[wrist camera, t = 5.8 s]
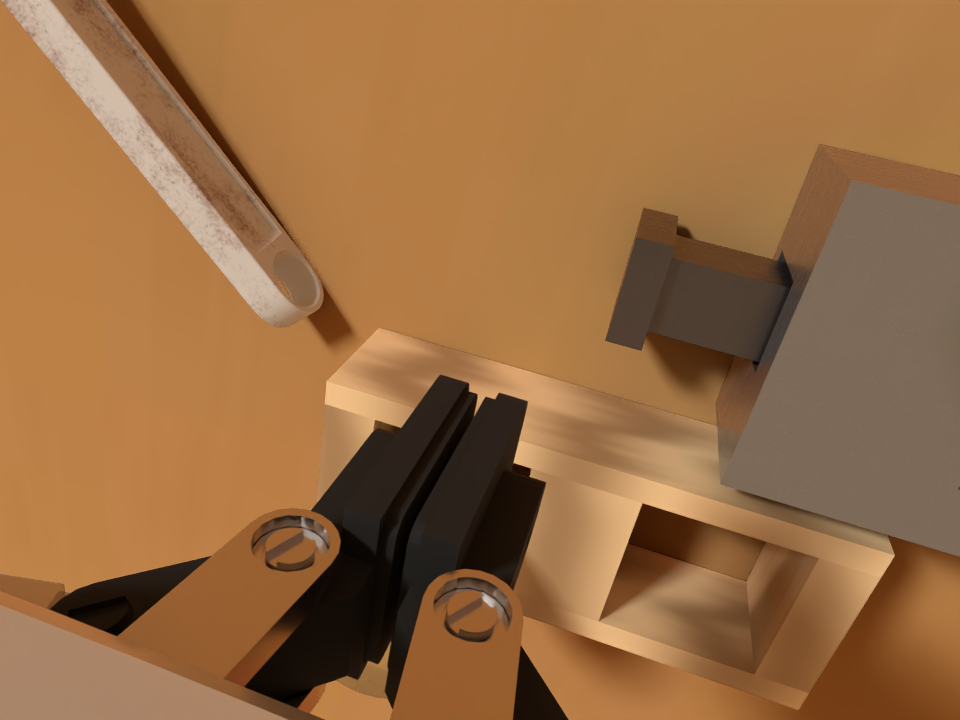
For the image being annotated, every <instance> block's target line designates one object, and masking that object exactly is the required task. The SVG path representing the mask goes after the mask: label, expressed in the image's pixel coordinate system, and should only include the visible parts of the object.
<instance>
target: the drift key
mask: <svg viewBox="0 0 960 720" xmlns="http://www.w3.org/2000/svg"><path fill="white" fill-rule="evenodd" d="M677 222H678V216H674V215H670V214H666V213H662V212H658V211H654V210H650V209H646V208H643V212H642V215H641V218H640V222H639V225H638V229H637V232H636V235H635V239H634V242H633V245H632V249H631V252H630V255H629V259H628V262H627V266H626V269H625V272H624V276H623V279H622V282H621V286H620V289H619V293H618V296H617V299H616V303H615V307H614V310H613V314H612V318H611V321H610V325H609V329H608V332H607V336H606V340H605V341H608V342H612V343H615V344H619V345H622V346H626V347H629V348H633V349H637V350H640V351H641V350H642V347H643V344H644V341H645V338H646V335H647V332H651V333H655V334H659V335H662V336H666V337H670V338H673V339H677V340H680V341H684V342H688V343H691V344H695V345H699V346H702V347H706V348H709V349H713V350H717V351H720V352H724V353H728V354H731V355H735V356H739V357H742V358H746V359H749V360H753V361H757V362H760V360H761V358H762V355H763V353H764V351H765V348H766V346H767V344H768V341H769V339H770V336H771V334H772V332H773V329H774V327H775V325H776V322H777V320H778V318H779V315H780V313H781V310H782V308H783V306H784V303H785V301H786V299H787V296H788V294H789V292H790V289H791V287H792V284H793V279H792V276H791V274H790V271H789V268H788V265H787V263H785V262H781V261H777V260H773V259H769V258H765V257H761V256H757V255H753V254H749V253H746V252H742V251H738V250H734V249H730V248H726V247H722V246H718V245H714V244H710V243H706V242H702V241H698V240H694V239H690V238H686V237H682V236H678V235H676V234H677Z"/></svg>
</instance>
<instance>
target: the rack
mask: <svg viewBox="0 0 960 720" xmlns="http://www.w3.org/2000/svg"><path fill="white" fill-rule="evenodd" d="M439 375H445V376H448V377H451V378H454V379H458V380H461V381H464V382H467V383H469V391H470V392H473V393H476V394H478V399H477V404H476V409H475V414H476V412H477V410H478V409H479V407H480V405H481V403H482V402H483V400H484V398H485V397H489V398H493V399H495V398H496V397H497V395H498V393H503V394H506V395H510V396H513V397H516V398H519V399H523V400H526V401H528V405H527V410H526V414H525V418H524V422H523V426H522V430H521V434H520V438H519V443H518V447H517V451H516V455H515V459H514V463H515V464H519V465H522V466H525V467H528V468H531V473H530V476H529V477H532V478H535V479H538V480H541V481H544V482H546V486H545V490H544V494H543V497H542V501H541V504H540V508H539V512H538V515H537V519H536V522H535V525H534V529H533V532H532V535H531V539H530V542H529V545H528V548H527V551H526V554H525V557H524V560H523V563H522V566H521V569H520V572H519V575H518V578H517V581H516V584H515V587H514V590H513V591H514V592H515V594H516V595H517V597H518V599H519V601H520V603H521V605H522V611H523V615H524V616H526V617H529V618H532V619H535V620H538V621H541V622H544V623H547V624H550V625H553V626H555V627H558V628H561V629H564V630H567V631H570V632H573V633H576V634H579V635H582V636H584V637H587V638H590V639H593V640H596V641H599V642H602V643H605V644H608V645H611V646H613V647H616V648H619V649H622V650H625V651H628V652H631V653H634V654H637V655H640V656H642V657H645V658H648V659H651V660H654V661H657V662H660V663H663V664H666V665H669V666H671V667H674V668H677V669H680V670H683V671H686V672H689V673H692V674H695V675H698V676H700V677H703V678H706V679H709V680H712V681H715V682H718V683H721V684H724V685H727V686H729V687H732V688H735V689H738V690H741V691H744V692H747V693H750V694H753V695H756V696H758V697H761V698H764V699H767V700H770V701H773V702H776V703H779V704H782V705H785V706H787V707H790V708H793V709H796V710H799V709H800V707H801V705H802V704H803V702H804V701H805V699H806V697H807V696H808V694H809V693H810V691H811V689H812V688H813V686H814V685H815V683H816V681H817V680H818V678H819V676H820V675H821V673H822V672H823V670H824V668H825V667H826V665H827V664H828V662H829V660H830V659H831V657H832V656H833V654H834V652H835V651H836V649H837V648H838V646H839V644H840V643H841V641H842V640H843V638H844V636H845V635H846V633H847V632H848V630H849V628H850V627H851V625H852V624H853V622H854V620H855V619H856V617H857V616H858V614H859V612H860V611H861V609H862V608H863V606H864V604H865V603H866V601H867V600H868V598H869V596H870V595H871V593H872V592H873V590H874V588H875V587H876V585H877V583H878V582H879V580H880V579H881V577H882V575H883V574H884V572H885V571H886V569H887V567H888V566H889V564H890V563H891V561H892V559H893V558H894V556H895V554H894V552H893V549H892V546H891V543H890V541H889V538H888V535H886V534H883V533H879V532H876V531H873V530H869V529H866V528H863V527H860V526H856V525H853V524H850V523H846V522H843V521H840V520H836V519H833V518H830V517H827V516H823V515H820V514H817V513H813V512H810V511H807V510H804V509H800V508H797V507H794V506H790V505H787V504H784V503H780V502H777V501H774V500H771V499H767V498H764V497H761V496H757V495H754V494H751V493H747V492H744V491H741V490H738V489H734V488H731V487H728V486H724V485H721V484H720V473H719V454H718V434H717V426H715V425H712V424H708V423H705V422H701V421H698V420H694V419H691V418H687V417H684V416H681V415H677V414H674V413H670V412H667V411H663V410H660V409H657V408H653V407H650V406H646V405H643V404H639V403H636V402H633V401H629V400H626V399H622V398H619V397H615V396H612V395H608V394H605V393H602V392H598V391H595V390H591V389H588V388H584V387H581V386H578V385H574V384H571V383H567V382H564V381H560V380H557V379H554V378H550V377H547V376H543V375H540V374H536V373H533V372H529V371H526V370H523V369H519V368H516V367H512V366H509V365H505V364H502V363H499V362H495V361H492V360H488V359H485V358H481V357H478V356H475V355H471V354H468V353H464V352H461V351H457V350H454V349H450V348H447V347H444V346H440V345H437V344H433V343H430V342H426V341H423V340H420V339H416V338H413V337H409V336H406V335H402V334H399V333H396V332H392V331H389V330H385V329H382V328H379V329H378V330H377V331H376V332H375V333H374V334H373V335H372V336H371V337H370V338H369V339H368V340H367V341H366V342H365V343H364V344H363V345H362V346H361V347H360V348H359V349H358V350H357V351H356V352H355V353H354V354H353V355H352V356H351V357H350V358H349V359H348V360H347V361H346V362H345V363H344V364H343V365H342V366H341V367H340V368H339V369H338V370H337V371H336V372H335V373H334V374H333V375H332V376H331V377H330V378H329V379H328V381H327V384H326V396H325V408H324V419H323V431H322V443H321V454H320V466H319V478H318V489H317V501H316V504H317V502H318V501H319V500H320V499H321V497H322V496H323V495H324V493H325V492H326V491H327V490H328V488H329V487H330V486H331V484H332V483H333V482H334V481H335V479H336V478H337V477H338V475H339V474H340V473H341V472H342V470H343V469H344V468H345V467H346V465H347V464H348V463H349V461H350V460H351V459H352V458H353V456H354V455H355V454H356V452H357V451H358V450H359V449H360V447H361V446H362V445H363V443H364V442H365V441H366V440H367V438H368V437H369V436H370V434H371V433H372V432H373V431H374V430H375V429H377V428H381V429H384V430H387V431H390V432H393V433H396V434H397V433H398V432H399V430H400V429H401V427H402V426H403V425H404V423H405V422H406V421H407V419H408V418H409V416H410V415H411V414H412V412H413V411H414V409H415V408H416V407H417V405H418V404H419V402H420V401H421V400H422V398H423V397H424V396H425V394H426V393H427V391H428V390H429V389H430V387H431V386H432V384H433V383H434V382H435V380H436V379H437V377H438V376H439ZM475 414H474V416H475ZM642 503H644V504H647V505H650V506H653V507H656V508H660V509H663V510H666V511H669V512H672V513H676V514H679V515H682V516H685V517H688V518H692V519H695V520H698V521H701V522H704V523H708V524H711V525H714V526H717V527H720V528H724V529H727V530H730V531H733V532H736V533H740V534H743V535H746V536H749V537H752V538H756V539H759V540H762V541H765V542H766V543H765V545H764V547H763V549H762V551H761V553H760V555H759V557H758V559H757V561H756V563H755V565H754V567H753V569H752V571H751V573H750V575H749V577H748V579H747V581H743V580H740V579H737V578H733V577H730V576H727V575H724V574H721V573H718V572H715V571H712V570H709V569H706V568H702V567H699V566H696V565H693V564H690V563H687V562H684V561H681V560H678V559H674V558H671V557H668V556H665V555H662V554H659V553H656V552H653V551H650V550H646V549H643V548H640V547H637V546H634V545H631V544H628V541H629V538H630V535H631V533H632V530H633V527H634V525H635V522H636V519H637V517H638V514H639V511H640V508H641V506H642Z"/></svg>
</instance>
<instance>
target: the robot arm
mask: <svg viewBox="0 0 960 720" xmlns="http://www.w3.org/2000/svg"><path fill="white" fill-rule="evenodd" d="M477 399H478V394H476V393H473V392H470V391H469V383H467V382H464V381H461V380H458V379H454V378H451V377H448V376H445V375H439V376H438V377H437V379H436V380H435V382H434V383H433V384H432V386H431V387H430V389H429V390H428V391H427V393H426V394H425V396H424V397H423V398H422V400H421V401H420V402H419V404H418V405H417V407H416V408H415V409H414V411H413V412H412V414H411V415H410V416H409V418H408V419H407V421H406V422H405V423H404V425H403V426H402V427H401V429H400V430H399V432H398V433H397V434H396V433H393V432H390V431H387V430H384V429H381V428H377V429H375V430H374V431H373V432H372V433H371V434H370V436H369V437H368V438H367V440H366V441H365V442H364V443H363V445H362V446H361V447H360V449H359V450H358V451H357V452H356V454H355V455H354V456H353V458H352V459H351V460H350V461H349V463H348V464H347V465H346V467H345V468H344V469H343V470H342V472H341V473H340V474H339V475H338V477H337V478H336V479H335V481H334V482H333V483H332V484H331V486H330V487H329V488H328V490H327V491H326V492H325V493H324V495H323V496H322V497H321V499H320V500H319V501H318V502H317V504H316V505H315V506H314V508H313V509H312V510H311V511H309V510H304V509H295V508H290V509H281V510H276V511H273V512H270V513H267V514H264V515H262V516H261V517H259V518H257V519H256V520H254V521H253V522H251V523H250V524H249V525H248V526H247V527H245V528H244V529H243V530H242V531H241V532H239V533H238V534H237V535H236V536H235V537H234V538H232V539H231V540H230V541H229V542H228V543H227V544H225V545H224V546H223V547H222V548H221V549H219V550H218V551H217V552H216V553H215V554H214V555H212V556H209V557H205V558H201V559H197V560H192V561H188V562H184V563H179V564H175V565H171V566H166V567H162V568H158V569H153V570H149V571H145V572H140V573H136V574H132V575H127V576H123V577H119V578H114V579H110V580H106V581H101V582H97V583H94V584H91V585H88V586H85V587H82V588H79V589H77V590H75V591H73V592H72V593H69V592H65V588H64V584H61V583H55V582H48V581H42V580H35V579H29V578H22V577H16V576H9V575H3V574H0V720H324V719H322V718H319V717H317V716H314V715H312V714H310V712H311V711H312V710H313V708H314V707H315V706H316V704H317V703H318V702H319V700H320V698H321V696H322V694H323V693H324V691H325V686H326V683H328V682H331V681H334V680H337V679H340V678H343V677H346V676H348V677H351V678H354V679H356V680H359V678H360V676H361V674H362V672H363V670H364V668H365V666H366V665H367V663H368V661H370V662H372V663H375V664H379V663H380V661H381V660H382V658H383V656H384V654H385V652H386V650H387V648H388V646H389V644H390V642H391V645H390V651H389V657H388V663H387V668H388V674H387V680H386V686H385V693H386V696H387V698H388V700H389V702H390V705H391V707H392V709H393V711H392V714H391V718H390V720H568V718H567V717H566V715H565V714H564V712H563V710H562V709H561V707H560V706H559V704H558V703H557V701H556V699H555V698H554V696H553V695H552V693H551V692H550V690H549V689H548V687H547V685H546V684H545V682H544V681H543V679H542V678H541V676H540V674H539V673H538V671H537V670H536V668H535V667H534V665H533V664H532V662H531V660H530V659H529V657H528V656H527V654H526V653H525V651H524V650H523V648H522V646H521V637H522V627H523V611H522V605H521V603H520V601H519V599H518V597H517V595H516V594H515V592H514V591H513V590H514V587H515V584H516V581H517V578H518V575H519V572H520V569H521V566H522V563H523V560H524V557H525V554H526V551H527V548H528V545H529V542H530V539H531V535H532V532H533V529H534V525H535V522H536V519H537V515H538V512H539V508H540V504H541V501H542V497H543V494H544V490H545V486H546V482H544V481H541V480H538V479H535V478H532V477H529V476H526V475H522V474H519V473H516V472H513V471H512V467H513V463H514V459H515V455H516V451H517V447H518V443H519V438H520V434H521V430H522V426H523V422H524V418H525V414H526V410H527V405H528V401H526V400H523V399H519V398H516V397H513V396H510V395H506V394H503V393H498V395H497V397H496V398H495V399H493V398H489V397H485V398H484V400H483V402H482V403H481V405H480V407H479V409H478V410H477V412H476V414H475V409H476V404H477ZM474 414H475V416H474Z"/></svg>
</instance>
